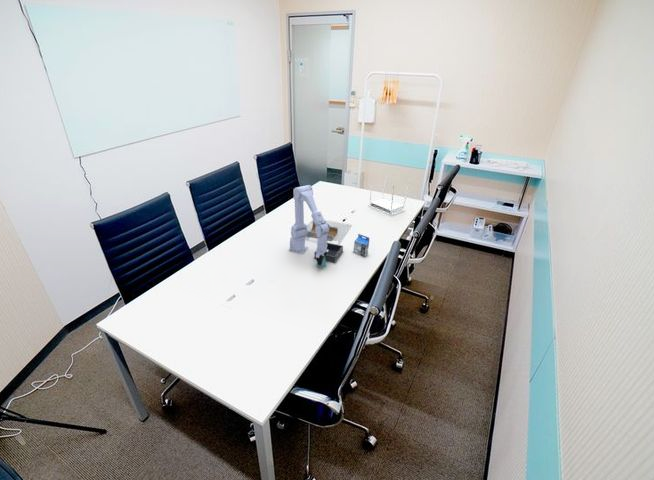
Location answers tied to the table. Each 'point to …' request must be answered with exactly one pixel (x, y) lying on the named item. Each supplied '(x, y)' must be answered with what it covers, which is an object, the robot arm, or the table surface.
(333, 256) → the bin
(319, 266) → the bottle
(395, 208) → the router
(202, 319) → the table surface
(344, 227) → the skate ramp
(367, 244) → the label tape box
